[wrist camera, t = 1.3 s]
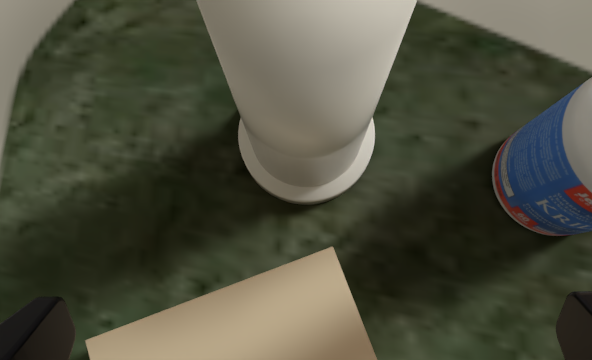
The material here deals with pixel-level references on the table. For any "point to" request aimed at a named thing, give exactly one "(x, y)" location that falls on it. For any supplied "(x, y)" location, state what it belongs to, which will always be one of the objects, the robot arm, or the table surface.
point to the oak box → (253, 321)
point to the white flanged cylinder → (306, 86)
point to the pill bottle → (550, 168)
